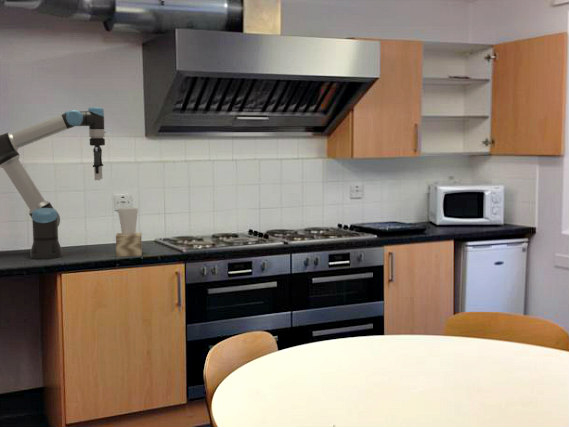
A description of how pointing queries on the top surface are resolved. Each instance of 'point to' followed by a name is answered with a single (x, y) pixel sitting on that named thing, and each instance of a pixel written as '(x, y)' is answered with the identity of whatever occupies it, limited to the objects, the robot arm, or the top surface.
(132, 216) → the foam cup
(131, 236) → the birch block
